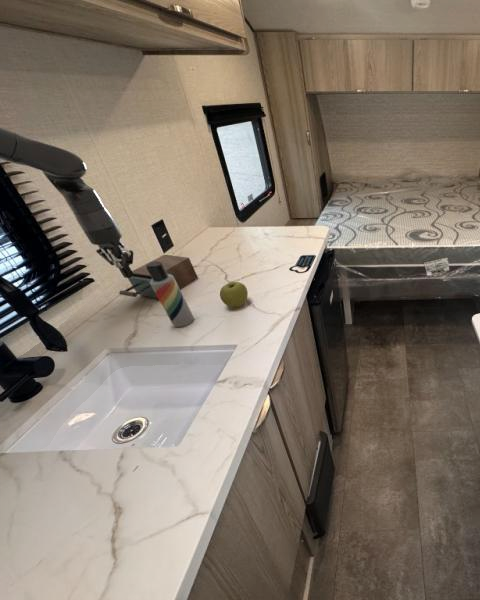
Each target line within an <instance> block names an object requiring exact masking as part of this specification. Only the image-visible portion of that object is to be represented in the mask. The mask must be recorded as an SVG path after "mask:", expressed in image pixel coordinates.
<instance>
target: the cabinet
mask: <svg viewBox="0 0 480 600" xmlns="http://www.w3.org/2000/svg"><path fill="white" fill-rule="evenodd" d="M151 262H161V263H162V264H163V266H164V268H165V270H166V272H167V274H170V275H172V276H173V277H174V279H175V281H176V283H177V285H178V287H179V289H180V291H181V290H183V289H184V288H185V287H187V286H188V285H190V284H192V283H193V282H195V281H196V280H198V279H199V276H198V274H197V272H196V270H195V268H194V265H193V264H192V261H191V259H190V257H186V256H178V255H169V254H163V255H161V256H159V257H157V258H155V259H153V260H151V261H149V262H147V263H145V264H143V265H140V267H137V268H135V269H133V270H132V272H133V274H134V276H136V277H137V275H138V276H145V277H151V276H150V274H149V272H148V271H147V269H146V266H147V264H149V263H151Z"/></svg>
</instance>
